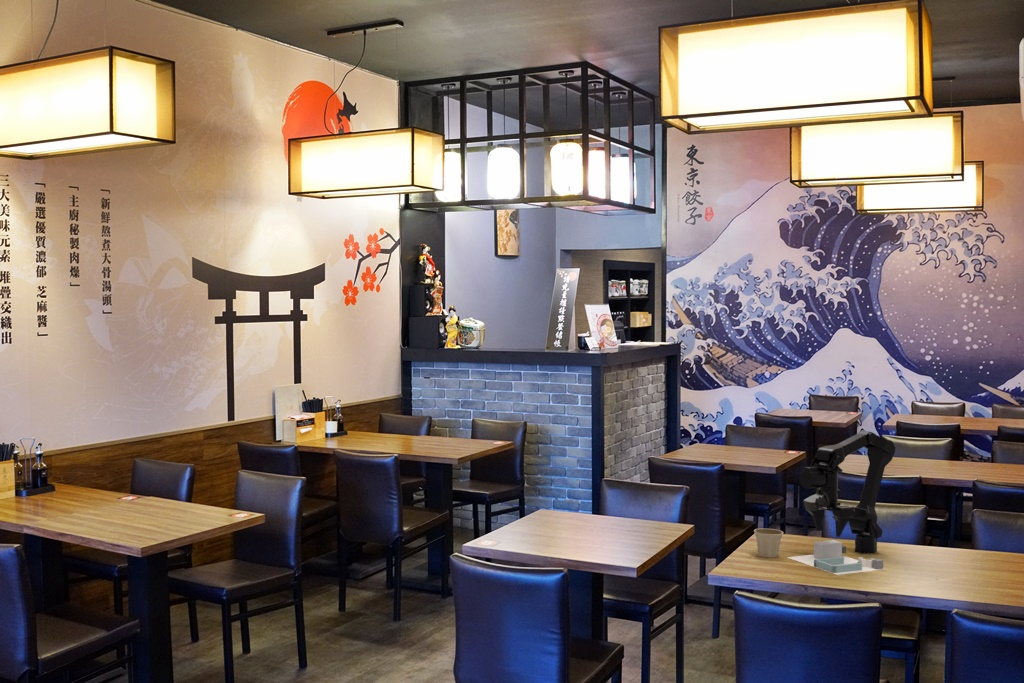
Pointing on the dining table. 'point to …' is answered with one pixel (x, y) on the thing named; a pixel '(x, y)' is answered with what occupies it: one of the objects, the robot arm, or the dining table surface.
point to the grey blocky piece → (877, 564)
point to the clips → (866, 562)
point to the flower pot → (768, 542)
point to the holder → (830, 562)
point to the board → (810, 561)
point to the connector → (828, 549)
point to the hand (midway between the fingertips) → (828, 533)
